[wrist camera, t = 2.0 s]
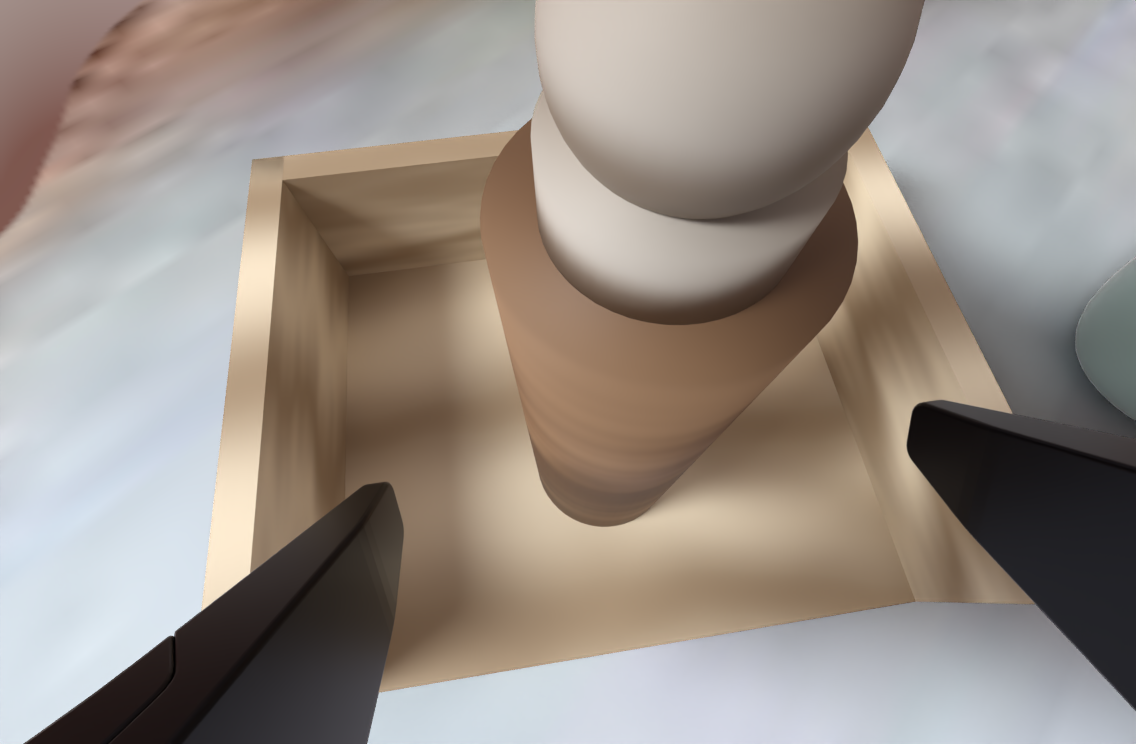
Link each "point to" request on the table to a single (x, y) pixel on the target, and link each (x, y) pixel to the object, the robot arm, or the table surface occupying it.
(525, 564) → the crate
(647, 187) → the pepper mill
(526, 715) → the table surface
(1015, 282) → the table surface
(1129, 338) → the cup
